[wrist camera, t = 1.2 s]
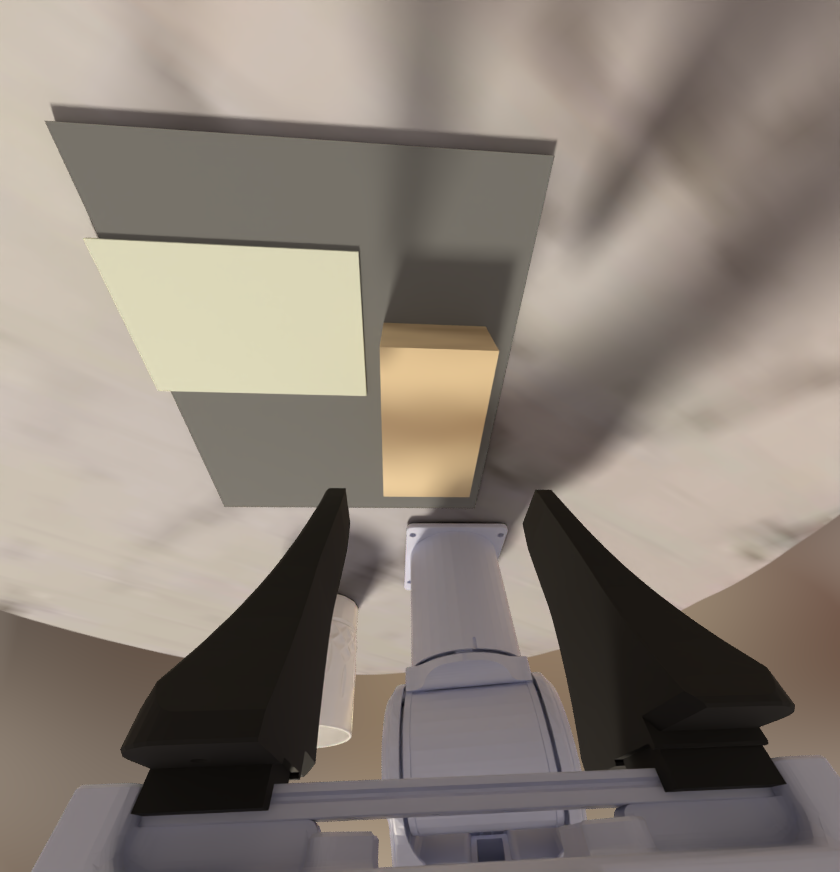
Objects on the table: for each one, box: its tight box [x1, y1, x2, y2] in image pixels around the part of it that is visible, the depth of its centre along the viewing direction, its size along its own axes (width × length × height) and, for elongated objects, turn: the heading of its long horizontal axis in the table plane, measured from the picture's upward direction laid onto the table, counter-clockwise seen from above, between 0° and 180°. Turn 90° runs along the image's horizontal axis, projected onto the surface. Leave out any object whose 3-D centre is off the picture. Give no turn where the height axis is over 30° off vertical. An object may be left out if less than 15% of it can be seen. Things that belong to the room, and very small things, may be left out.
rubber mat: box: [45, 121, 554, 508], centre depth 18 cm, size 20×18×1 cm
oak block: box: [380, 323, 499, 497], centre depth 18 cm, size 9×5×3 cm, turn 177°
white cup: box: [317, 594, 358, 748], centre depth 30 cm, size 8×8×10 cm
